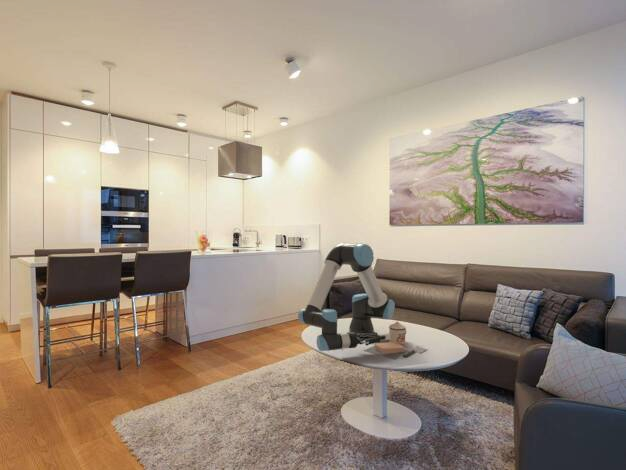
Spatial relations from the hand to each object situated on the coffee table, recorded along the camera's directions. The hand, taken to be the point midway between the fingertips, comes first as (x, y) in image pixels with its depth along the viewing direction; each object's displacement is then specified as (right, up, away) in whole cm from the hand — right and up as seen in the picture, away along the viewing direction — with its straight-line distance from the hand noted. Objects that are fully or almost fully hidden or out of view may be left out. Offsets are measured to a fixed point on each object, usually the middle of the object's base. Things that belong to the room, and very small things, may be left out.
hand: (389, 336), depth 179 cm
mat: (-2, -8, -1) cm, 8 cm away
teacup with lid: (+9, -8, +16) cm, 20 cm away
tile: (-6, -6, -2) cm, 9 cm away
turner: (+12, -8, -1) cm, 15 cm away
